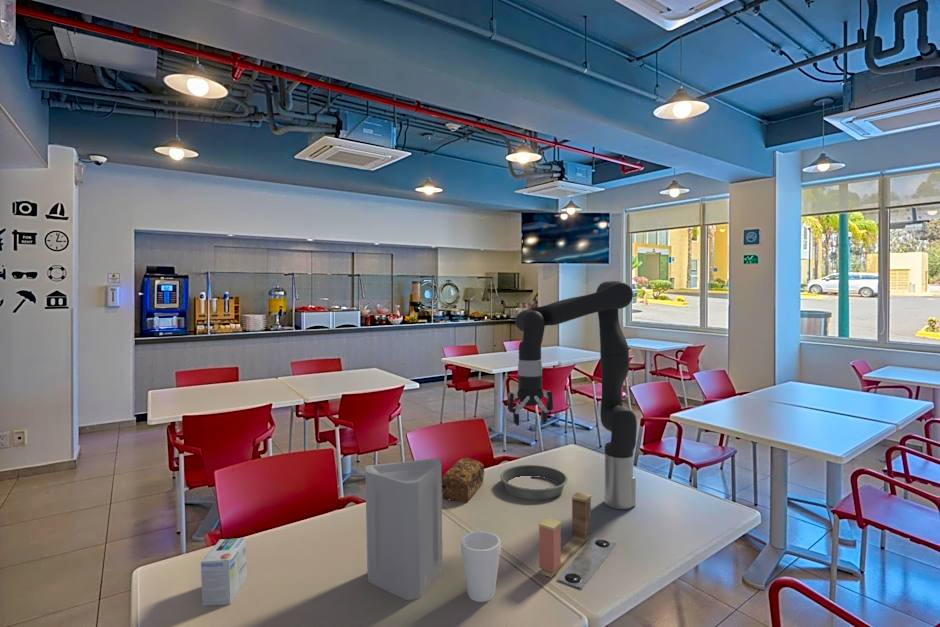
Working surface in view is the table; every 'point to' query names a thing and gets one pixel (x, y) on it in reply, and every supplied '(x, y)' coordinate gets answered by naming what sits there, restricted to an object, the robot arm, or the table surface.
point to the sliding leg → (550, 544)
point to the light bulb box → (223, 572)
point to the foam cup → (481, 563)
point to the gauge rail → (572, 542)
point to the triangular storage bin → (404, 526)
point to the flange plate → (587, 562)
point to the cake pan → (534, 471)
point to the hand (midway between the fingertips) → (530, 424)
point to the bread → (462, 480)
